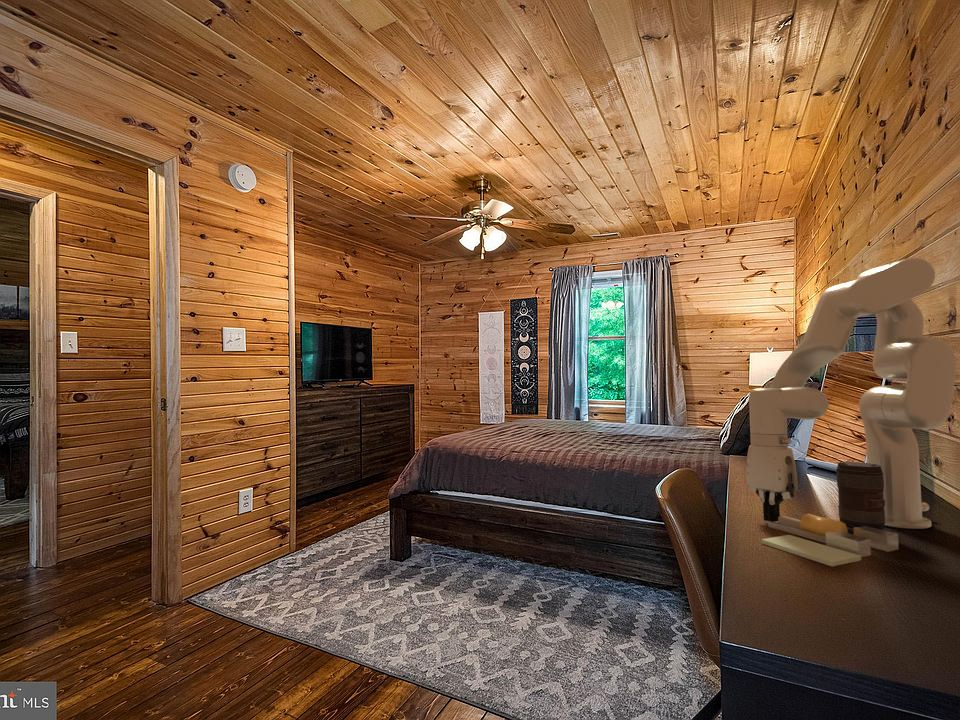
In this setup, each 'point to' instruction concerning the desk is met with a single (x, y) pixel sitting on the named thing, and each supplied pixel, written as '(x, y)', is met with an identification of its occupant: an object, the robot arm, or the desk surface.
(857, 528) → the housing
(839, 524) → the plug
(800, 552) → the mat
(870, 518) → the camera lens
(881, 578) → the desk surface
